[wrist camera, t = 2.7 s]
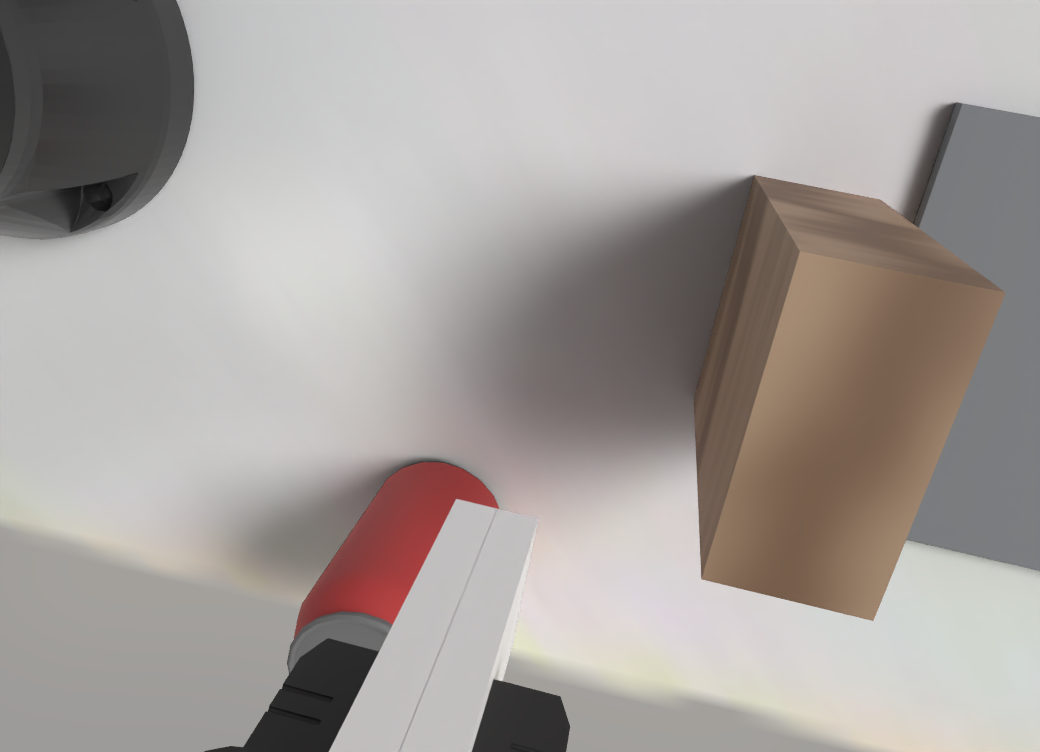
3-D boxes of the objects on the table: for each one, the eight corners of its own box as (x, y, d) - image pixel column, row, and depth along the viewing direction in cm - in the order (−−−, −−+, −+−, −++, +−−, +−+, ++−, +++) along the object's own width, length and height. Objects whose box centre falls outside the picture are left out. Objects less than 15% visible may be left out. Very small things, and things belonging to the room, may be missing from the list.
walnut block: (694, 399, 38) (701, 578, 25) (754, 175, 34) (799, 251, 21) (811, 425, 37) (880, 622, 24) (885, 200, 34) (1014, 294, 21)
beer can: (352, 511, 43) (240, 670, 32) (432, 430, 41) (341, 571, 30) (449, 594, 44) (371, 777, 33) (533, 519, 41) (480, 689, 30)
